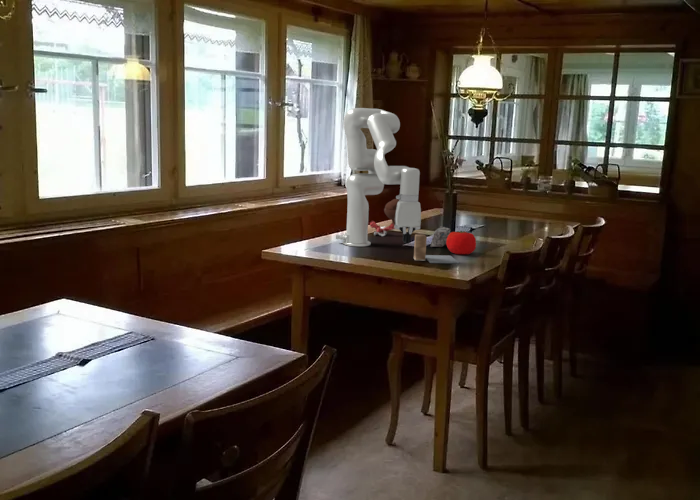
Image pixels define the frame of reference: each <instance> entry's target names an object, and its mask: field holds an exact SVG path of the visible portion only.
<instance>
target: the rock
mask: <svg viewBox="0 0 700 500" xmlns="http://www.w3.org/2000/svg"><path fill="white" fill-rule="evenodd" d="M450 233H451V228H449V227H445V226H441V225H440V226H439V227H438V228H437V229H435V231H434V233H433V236H432V239H431V242H430V247H431V248H442V247H444V246H447V245H446V241H447V237H448V235H449V234H450Z"/></svg>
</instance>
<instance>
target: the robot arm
mask: <svg viewBox="0 0 700 500" xmlns="http://www.w3.org/2000/svg"><path fill="white" fill-rule="evenodd" d="M400 127H401V122H400V119H399V117H398V115H397V114H395V113H394V112H393V113H392V112H390V111H386V110H384V109H379V108H370V107H369V108H366V107H355V108H351V109H349V110H348V111H346V113H345V115H344V118H343V130H344V133H345V137H346V138H345V139H346V148H347V162H348V164H347V165H348V167H349V169H351V170H352V171H362V172H363V171H368V173H353V174H351V175H349V176H348V177H347V178H346V181H345V188H346V194H347V195H346V196H347V197H346V198H347V205H346V206H347V208H346V209H347V210H346V211H347V213H346V232H345V233H344V234H335V240H338V241H339V240H340V241H341V240H342V244H343V245H345V246H350V247H369V246H371V241H369V240H368V235H369V234H368V233H369V231H368V230H369V229H368V228H369V224H368V223H369V211H370V208H369V207H370V205H369V201H368V200H367V197H366V196H375V195H379V194H381V193H382V192H383V190H384V187H385V185H400V186H399V188H400V189H399V194H398V195H396V196H395V199H398V200H399V201H398V203H397V207H396V214H395V226H394V228H395V229H394V230H398V231H400V232H401V233H402V242H403V243H404V244H405V245H407V244H408V245H409V244H410V242H411V239H412V238H411V237H412V234H413V233H414V232H415V231H417V230H420V229H421V223H422V222H421V221H422V213H421V212H422V208H421V203H420V202H419V191H420V175H421V172H420V169H419V168H415V167H409V166H407V165H388V163H387V161H386V158H385V155H386V154H387V153H389V152H391V151H393V150H394V148H396V146H397V140H396V138H395V136H394V134H396V133H397V132H398V131H399V130H400ZM363 128H364V129H368V130H369V132H370V135H371V137H372V140H373V143H374V145H375V148H376V149H373V148H367V139H366V135H365V133H364V132H363V131H362V130H361V129H363ZM407 228H408V229H407Z"/></svg>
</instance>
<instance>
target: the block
mask: <svg viewBox="0 0 700 500" xmlns="http://www.w3.org/2000/svg"><path fill="white" fill-rule="evenodd" d="M427 240H428V239H427V235H425V234H414V246H413V259H414V261H426V258H425V257H426V255H427V253H426V252H427Z"/></svg>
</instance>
